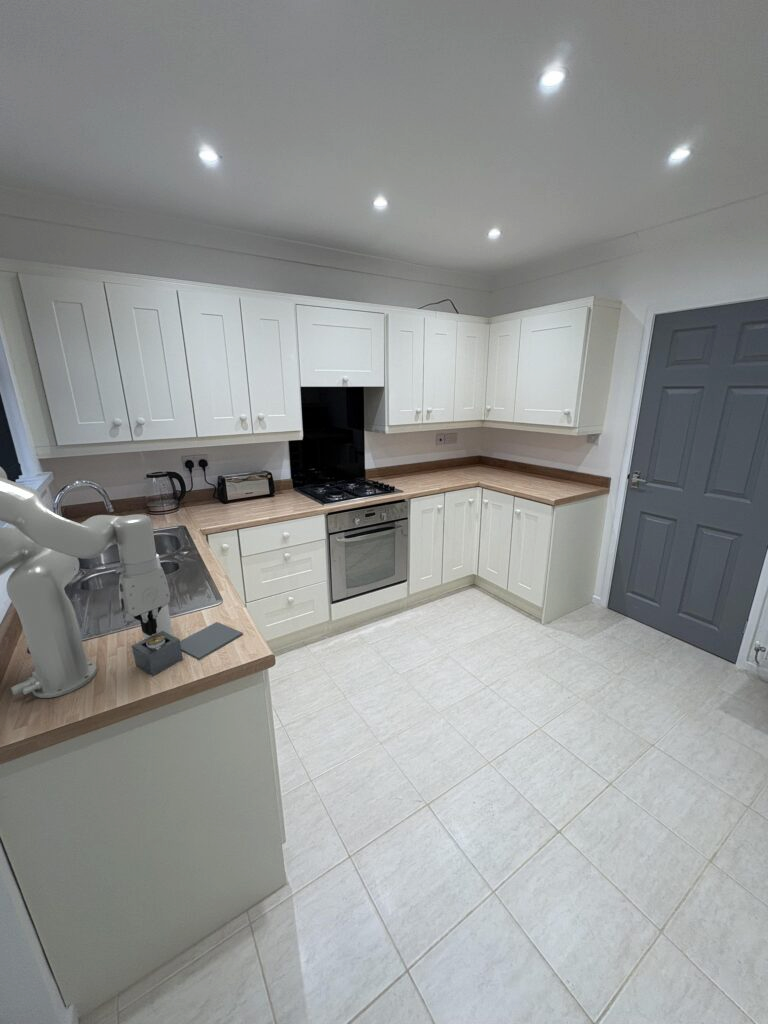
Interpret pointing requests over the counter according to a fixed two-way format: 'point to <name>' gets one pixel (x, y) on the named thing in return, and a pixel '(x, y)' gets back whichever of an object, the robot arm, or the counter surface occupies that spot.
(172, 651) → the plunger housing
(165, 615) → the cylindrical container
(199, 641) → the rubber mat
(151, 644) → the plunger
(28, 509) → the robot arm
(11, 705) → the counter surface
